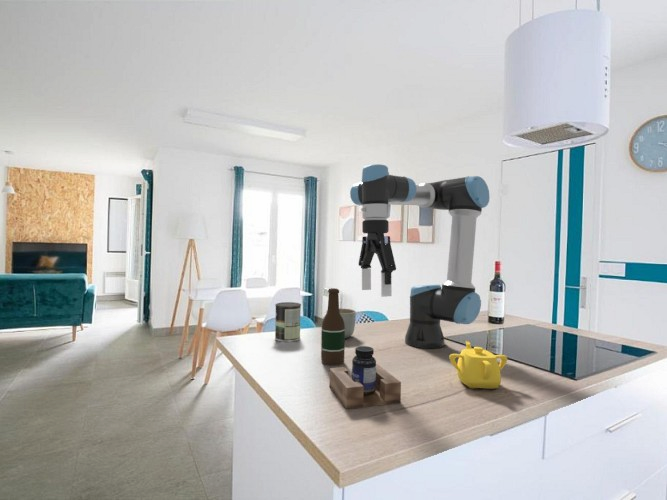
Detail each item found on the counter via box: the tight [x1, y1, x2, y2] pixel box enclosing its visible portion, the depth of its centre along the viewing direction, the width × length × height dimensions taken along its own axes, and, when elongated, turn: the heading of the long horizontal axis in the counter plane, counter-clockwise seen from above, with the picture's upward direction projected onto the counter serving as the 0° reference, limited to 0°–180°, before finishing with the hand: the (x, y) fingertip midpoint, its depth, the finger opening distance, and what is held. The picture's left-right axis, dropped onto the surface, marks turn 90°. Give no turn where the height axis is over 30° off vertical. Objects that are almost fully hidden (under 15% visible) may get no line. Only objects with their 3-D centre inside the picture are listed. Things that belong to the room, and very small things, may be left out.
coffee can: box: [274, 301, 302, 343], centre depth 148 cm, size 10×10×14 cm
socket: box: [329, 363, 402, 410], centre depth 94 cm, size 14×14×5 cm
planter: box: [325, 307, 357, 339], centre depth 153 cm, size 12×12×11 cm
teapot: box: [449, 340, 508, 390], centre depth 103 cm, size 14×13×10 cm
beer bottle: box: [320, 288, 346, 366], centre depth 120 cm, size 8×8×24 cm
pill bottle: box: [351, 345, 377, 395], centre depth 94 cm, size 6×6×11 cm
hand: (375, 292), depth 106 cm, fingers open, 13 cm apart
